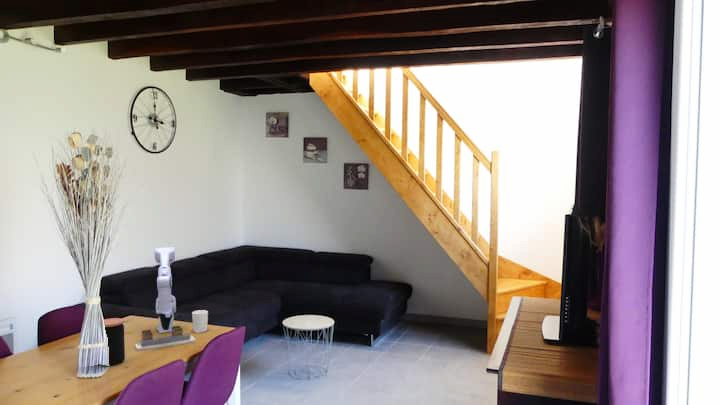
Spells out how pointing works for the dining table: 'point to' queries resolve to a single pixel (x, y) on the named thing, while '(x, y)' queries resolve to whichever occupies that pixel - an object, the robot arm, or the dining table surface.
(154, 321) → the dining table surface
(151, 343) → the rail
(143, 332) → the rack
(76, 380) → the dining table surface
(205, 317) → the white cup
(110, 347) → the coffee jar
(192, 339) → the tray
